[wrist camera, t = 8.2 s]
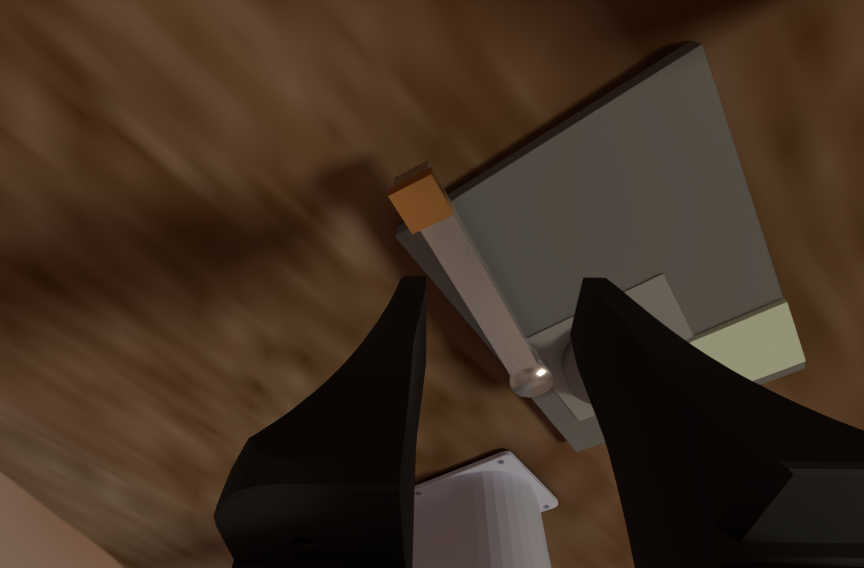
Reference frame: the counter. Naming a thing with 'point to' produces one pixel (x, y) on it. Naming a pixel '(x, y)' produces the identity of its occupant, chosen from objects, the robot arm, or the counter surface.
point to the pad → (754, 342)
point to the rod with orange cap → (469, 275)
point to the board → (618, 222)
